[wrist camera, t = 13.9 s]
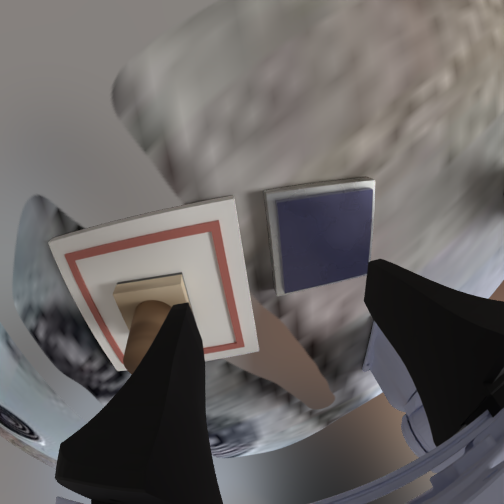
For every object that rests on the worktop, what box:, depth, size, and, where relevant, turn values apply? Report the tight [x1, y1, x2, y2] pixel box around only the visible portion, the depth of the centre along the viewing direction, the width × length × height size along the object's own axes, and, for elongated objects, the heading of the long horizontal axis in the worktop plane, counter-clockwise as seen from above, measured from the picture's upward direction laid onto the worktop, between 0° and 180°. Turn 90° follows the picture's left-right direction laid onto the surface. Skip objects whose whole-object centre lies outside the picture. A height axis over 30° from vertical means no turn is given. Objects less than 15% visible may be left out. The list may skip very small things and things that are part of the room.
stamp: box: [113, 272, 196, 374], centre depth 17 cm, size 5×5×6 cm
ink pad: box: [263, 177, 375, 296], centre depth 19 cm, size 8×8×2 cm
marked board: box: [48, 196, 259, 371], centre depth 20 cm, size 14×14×1 cm
